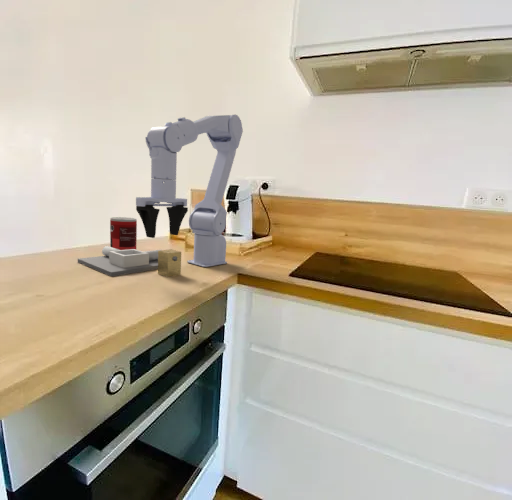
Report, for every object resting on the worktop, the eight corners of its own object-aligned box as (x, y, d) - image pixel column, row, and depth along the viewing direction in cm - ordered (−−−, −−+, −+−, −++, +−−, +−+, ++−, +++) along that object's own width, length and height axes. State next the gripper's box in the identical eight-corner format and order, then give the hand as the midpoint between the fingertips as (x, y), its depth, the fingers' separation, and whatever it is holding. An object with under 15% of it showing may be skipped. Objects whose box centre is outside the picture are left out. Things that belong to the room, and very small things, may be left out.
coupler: (170, 271, 83) (170, 249, 82) (181, 275, 81) (182, 252, 80) (157, 273, 80) (157, 250, 79) (168, 277, 78) (168, 253, 76)
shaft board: (138, 255, 100) (138, 242, 99) (174, 266, 89) (174, 252, 88) (77, 262, 86) (77, 247, 85) (111, 276, 75) (111, 259, 74)
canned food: (118, 249, 107) (118, 216, 105) (140, 251, 106) (141, 218, 104) (105, 253, 100) (104, 218, 98) (128, 255, 99) (129, 220, 97)
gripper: (173, 180, 84) (172, 231, 86) (126, 176, 71) (126, 236, 74) (194, 182, 80) (192, 235, 83) (148, 177, 68) (148, 240, 70)
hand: (162, 236), depth 78 cm, fingers open, 7 cm apart
